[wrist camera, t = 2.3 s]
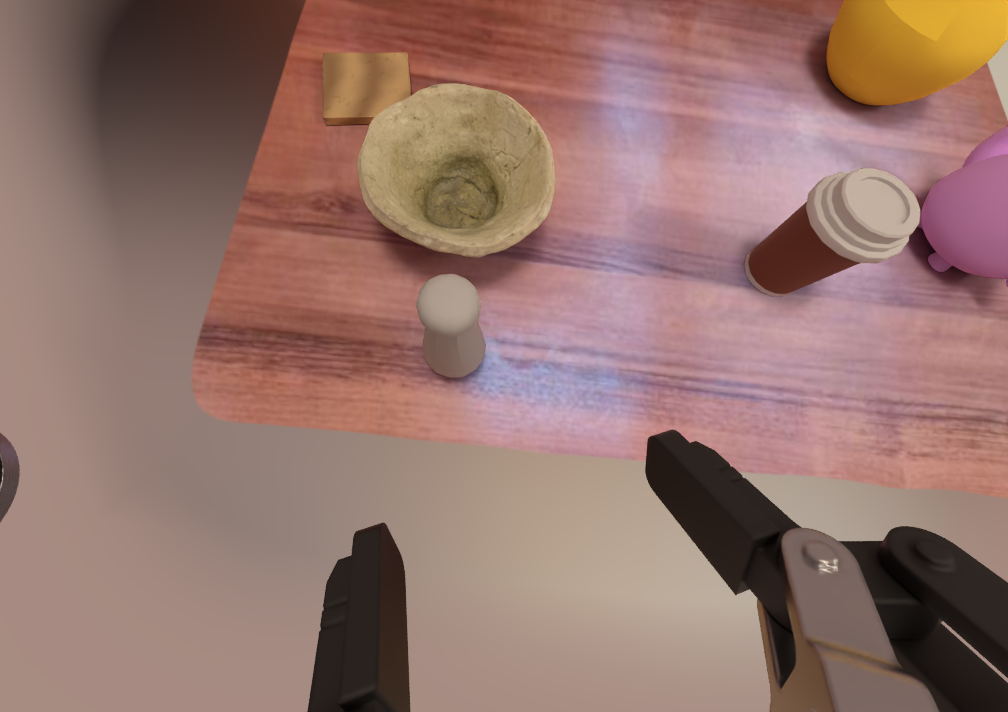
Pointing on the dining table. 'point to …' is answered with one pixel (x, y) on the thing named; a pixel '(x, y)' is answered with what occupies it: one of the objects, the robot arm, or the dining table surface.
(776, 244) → the coffee cup
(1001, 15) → the vase
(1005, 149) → the teapot
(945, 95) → the dining table surface
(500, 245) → the bowl
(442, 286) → the salt shaker
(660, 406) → the dining table surface
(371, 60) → the wooden square board
